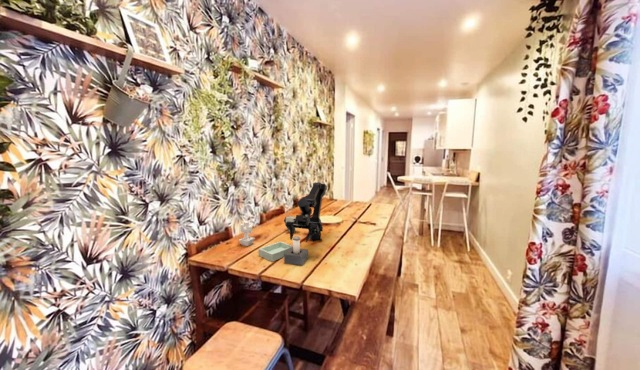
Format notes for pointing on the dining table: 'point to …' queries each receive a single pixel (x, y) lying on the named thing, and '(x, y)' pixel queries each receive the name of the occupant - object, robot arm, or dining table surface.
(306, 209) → the robot arm
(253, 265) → the dining table surface
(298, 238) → the beige capped cylinder
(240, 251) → the dining table surface
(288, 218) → the pneumatic valve
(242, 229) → the figurine
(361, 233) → the dining table surface
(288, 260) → the block
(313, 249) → the dining table surface
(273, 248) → the tray
